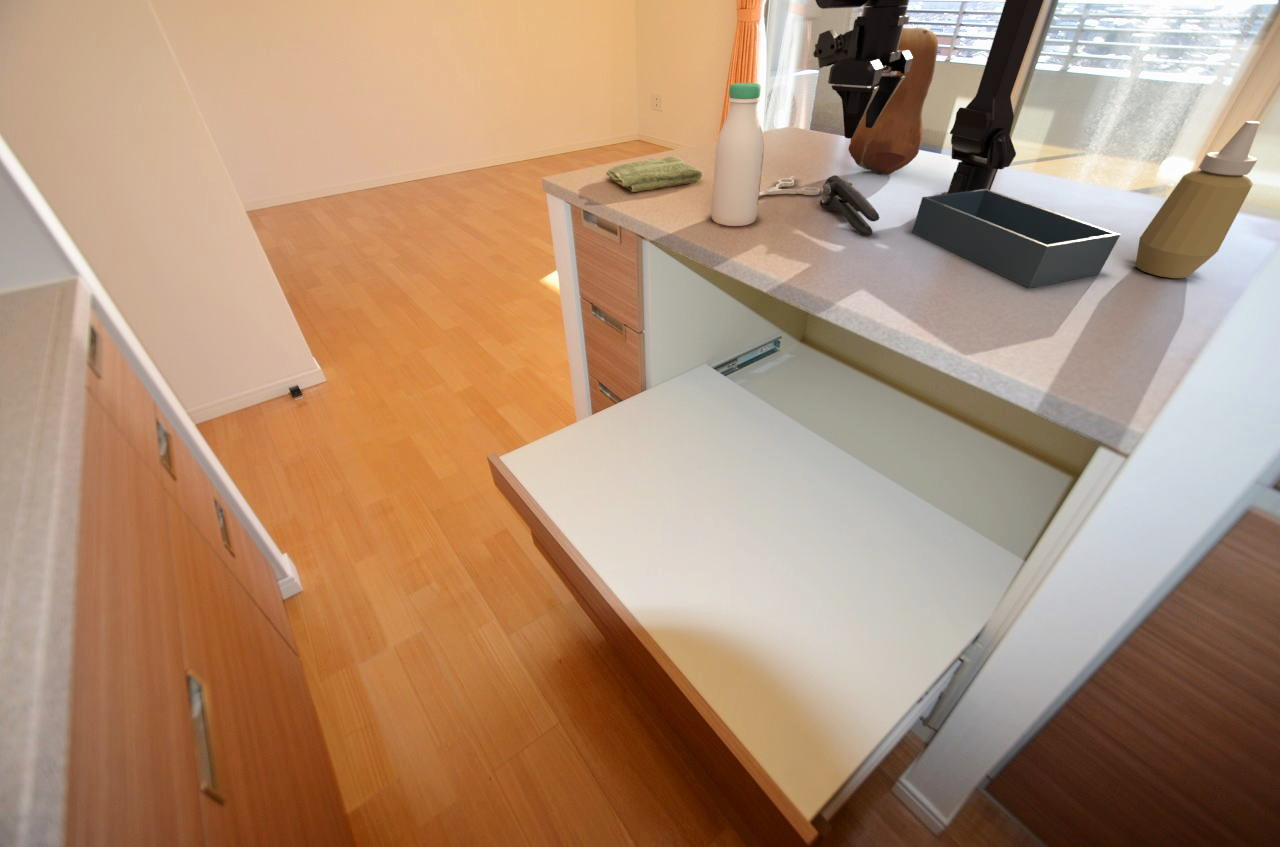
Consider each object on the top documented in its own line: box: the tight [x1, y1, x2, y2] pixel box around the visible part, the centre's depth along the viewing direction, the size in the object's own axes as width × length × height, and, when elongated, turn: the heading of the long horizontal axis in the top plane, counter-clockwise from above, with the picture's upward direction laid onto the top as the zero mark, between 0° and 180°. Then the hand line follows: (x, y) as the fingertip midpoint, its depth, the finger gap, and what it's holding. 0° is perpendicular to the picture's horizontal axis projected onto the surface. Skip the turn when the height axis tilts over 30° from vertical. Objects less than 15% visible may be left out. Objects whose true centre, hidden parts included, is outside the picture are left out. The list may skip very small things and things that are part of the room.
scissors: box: [759, 175, 821, 197], centre depth 104 cm, size 11×1×20 cm
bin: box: [911, 189, 1121, 289], centre depth 78 cm, size 12×22×6 cm, turn 18°
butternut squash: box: [847, 27, 939, 175], centre depth 107 cm, size 14×13×25 cm
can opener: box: [819, 175, 880, 237], centre depth 90 cm, size 18×7×6 cm, turn 4°
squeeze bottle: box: [1135, 120, 1261, 279], centre depth 68 cm, size 8×8×18 cm
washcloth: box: [606, 155, 703, 193], centre depth 112 cm, size 13×18×3 cm
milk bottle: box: [710, 82, 765, 227], centre depth 87 cm, size 8×8×20 cm
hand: (859, 132), depth 84 cm, fingers open, 9 cm apart
